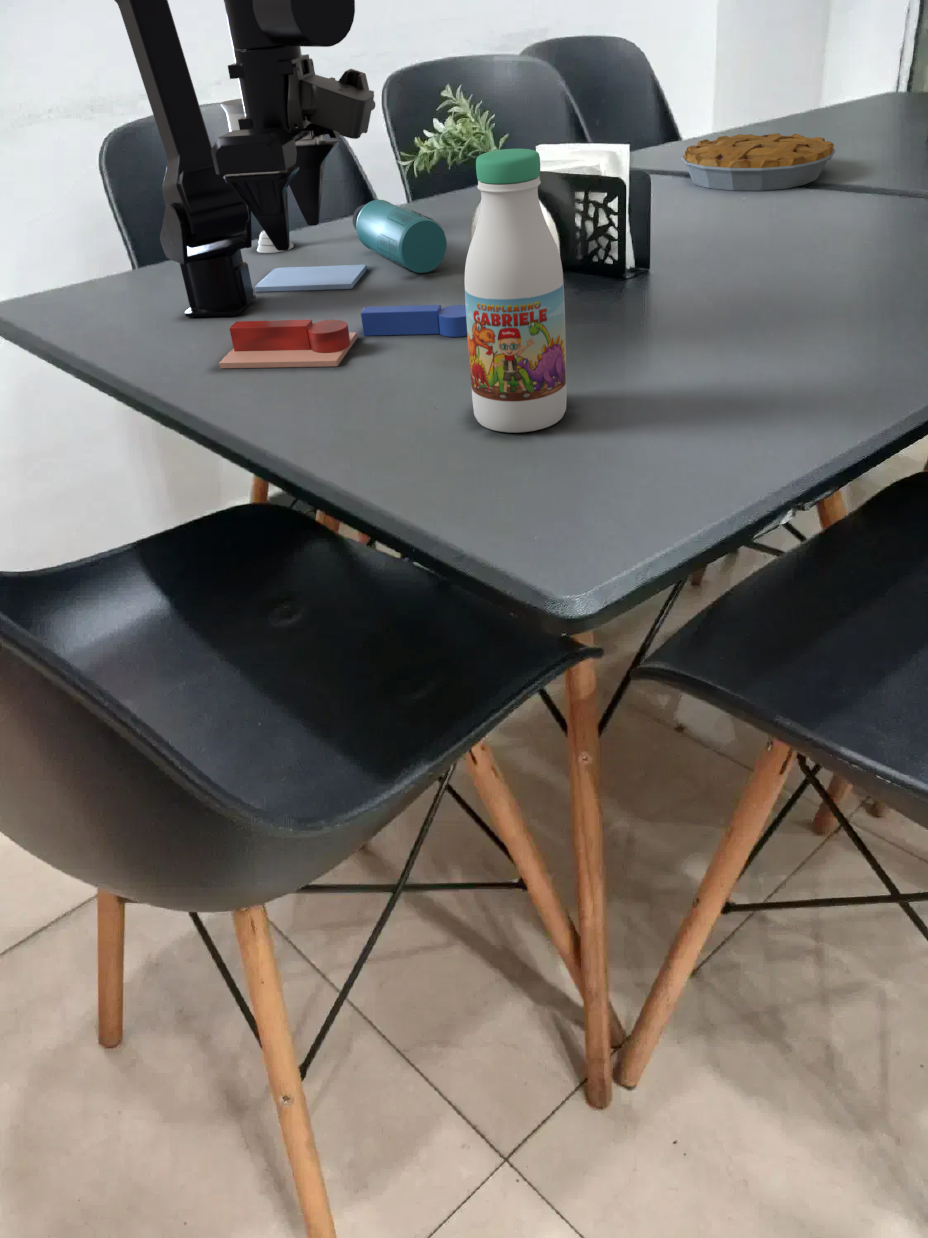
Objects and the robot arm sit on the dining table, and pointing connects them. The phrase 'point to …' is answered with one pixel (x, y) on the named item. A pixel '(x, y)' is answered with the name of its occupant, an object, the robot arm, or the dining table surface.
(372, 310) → the blue bar with disc
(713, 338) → the dining table surface
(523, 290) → the milk bottle
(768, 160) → the pie
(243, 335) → the red bar with disc
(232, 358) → the pink flat board
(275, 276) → the mat blue
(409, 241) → the beverage bottle
